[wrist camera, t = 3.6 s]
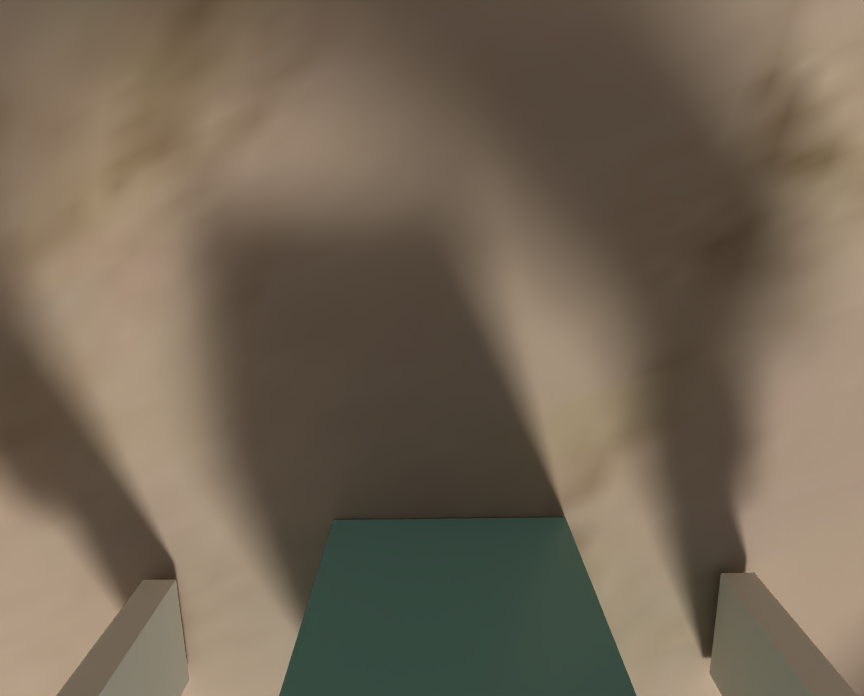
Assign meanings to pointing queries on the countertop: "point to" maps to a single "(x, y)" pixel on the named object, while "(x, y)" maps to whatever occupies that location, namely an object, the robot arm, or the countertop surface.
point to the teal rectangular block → (454, 613)
